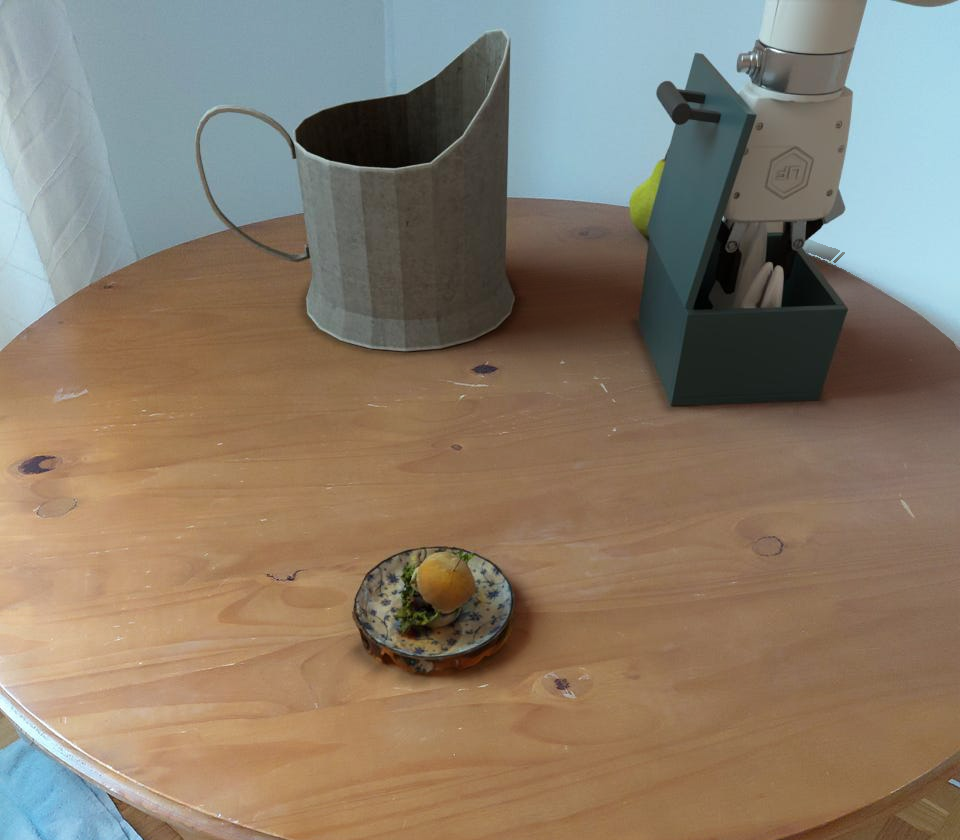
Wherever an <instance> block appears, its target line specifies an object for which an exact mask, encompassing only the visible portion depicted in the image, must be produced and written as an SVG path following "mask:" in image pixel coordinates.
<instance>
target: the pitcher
mask: <svg viewBox="0 0 960 840" xmlns="http://www.w3.org/2000/svg"><path fill="white" fill-rule="evenodd" d="M511 42H512V41H511V37H510V36H509V34H508V33H507V31H506V30H505V28H497V29H492V30H491V29H490V30H486V31H485V32H483V34H481V35H480V36H479V37H478V38H476V39H475V40H474V41H473V42H472V43H471V44H469V45H468V46H467V47H466V48H464V50H462V51H461V52H460V53H459V54H458V55H457V56H455V57H454V58H453V59H452V60H451V61H450V62H449V63H448V64H446V65H445V66H444V67H443V68H442V69H441V70H440V71H439V72H437V73H436V74H435V75H434V76H432V77H430V78H428V79H426V80H425V81H424V82H422V83H420V84H419V85H416V86H415V87H413V88H412V89H410V90H408V91H407V92H402V93H396V94H390V95H383V96H377V97H370V98H365V99H357V100H351V101H346V102H342V103H339V104H335V105H332V106H328V107H325V108H321V109H319V110H318V111H316V112H314V113H312V114H310V115H308V116H305V117H304V118H302V119H301V121H300V122H299V123H298V124H297V125H296V127H295V128H293V130H292V134H293V140H292V137H291V136H290V133H289V132H288V131H287V130H286V129H285V128H284V127H283V126H282V125H281V124H280V123H279V122H278V121H276V120H275V119H274V118H272V117H271V116H270V115H268V114H266V113H264V112H262V111H260V110H257V109H255V108H252V107H248V106H245V105H244V106H243V105H240V104H221V105H216V106H214V107H212V108H210V109H208V110H207V111H206V112H205V113H204V114H203V116H202V117H201V118H200V119H199V123H198V125H197V128H196V132H195V139H194V151H195V152H194V154H195V161H196V166H197V171H198V174H199V178H200V182H201V185H202V189H203V191H204V195H205V197H206V199H207V202H208V204H209V206H210V208H211V209H212V211H213V213H215V215H216V217H217V218H218V219H219V220H220V222H221V223H222V224H224V225H225V226H226V227H227V229H229V230H230V231H231V232H232V233H234V234H235V235H236V236H237V237H238V238H239V239H241V240H242V241H244V242H245V243H246V244H248V245H250V246H251V247H254V248H255V249H257V250H258V251H261V252H263V253H265V254H267V255H270V256H272V257H276V258H278V259H281V260H284V261H288V262H293V263H300V262H303V261H306V260H309V261H310V267H311V275H312V277H311V280H310V284H309V287H308V291H307V295H306V311H307V315H308V316H309V318H310V319H311V320H312V321H313V323H314V324H315V325H316V327H317V328H318V329H319V330H321V331H323V332H325V333H326V334H328V335H330V336H331V337H333V338H335V339H337V340H339V341H341V342H343V343H348V344H350V345H355V346H359V347H362V348H367V349H370V350H381V351H395V352H415V351H416V352H417V351H428V350H440V349H444V348H449V347H453V346H456V345H459V344H464V343H468V342H471V341H474V340H476V339H478V338H480V337H482V336H483V335H485V334H488V333H490V332H491V331H494V330H495V329H497V328H498V327H499V326H500V325H501V324H502V323H503V322H504V321H505V320H506V319H507V318H508V317H509V316H511V314H512V310H513V306H514V303H515V298H516V297H515V294H514V291H513V289H512V287H511V284H510V281H509V279H508V277H507V274H506V264H507V263H506V261H507V222H508V221H507V215H508V175H509V174H508V172H509V132H510V131H509V129H510V128H509V125H510V124H509V123H510V79H511ZM223 113H235V114H242V115H247V116H251V117H253V118H256V119H259V120H261V121H262V122H264V123H266V124H268V125H269V126H271V127H272V128H274V129H275V130H276V131H277V132H279V134H280V135H281V136H282V137H283V138H284V140H285V141H286V143H287V145H288V147H289V148H290V156H291V159H292V160H295V161H296V167H297V174H298V182H299V187H300V188H299V189H300V195H301V196H300V197H301V203H302V209H303V217H304V224H305V230H306V238H307V243H305V244H304V250H305V252H303V253H301V254H294V253H287V252H285V251H281V250H278V249H275V248H272V247H270V246H268V245H266V244H263V243H261V242H259V240H257V239H254V238H253V237H251V236H250V235H248V234H246V233H245V232H244V231H243V230H241V228H240V227H238V226H236V224H235V223H233V222H232V221H231V220H230V219H229V218H228V217H227V216H226V215H225V214H224V213H223V212H222V209H220V207H219V206H218V204H217V203H216V202H215V199H214V197H213V195H212V193H211V189H210V187H209V184H208V181H207V177H206V173H205V169H204V164H203V161H202V153H201V134H202V133H203V130H204V127H205V125H206V124H207V122H208V121H209V120H210V119H211V118H212V117H214V116H216V115H218V114H223Z"/></svg>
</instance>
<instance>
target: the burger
mask: <svg viewBox="0 0 960 840" xmlns="http://www.w3.org/2000/svg"><path fill="white" fill-rule="evenodd" d="M501 569H502V568H500V567H499V566H498V565H497V564H495V563H494V562H493V561H491V560H490V559H488V558H486V557H484V556H482V555H479V554H478V553H476V552H475V551H471V550H467V549H464V548H460V547H456V546H452V547H451V546H450V547H449V546H447V545H444V546H441V545H435V546H422V547H415V548H410V549H406V550H403V551H401V552H398V553H394V554H393V555H391V556H389V557H387V558H386V559H385V558H384V559H383V560H381V561H380V562H379V563H377V564H376V565H375V566H373V567H372V568H371V569H370V570H369V571H368V572H367V573H366V574H365V575H364V578H363V579H362V581H361V584H360V586H359V588H358V590H357V592H356V594H355V596H354V598H353V600H354V601H353V608H352V610H351V614H352V619H353V622H354V623H355V625H356V627H357V629H358V631H359V635H360V639H361V642H362V646H363V649H364V650H365V652H366V653H368V654H370V656H371V657H374V659H375V660H376V661H378V662H380V663H383V661H384V658H385V654H386V655H388V656H390V658H391V660H392V661H393V662H394V663H395V664H396V665H397V666H398V667H400V668H401V669H403V670H405V671H407V672H409V673H413V674H414V673H416V671H418V672H420V673H422V674H427V673H429V672H430V671H435V670H437V671H440V672H442V671H443V670H444V669H446V668H454V667H455V668H456V669H458V670H461V671H463V670H464V669H466V668H469V667H473V666H475V665H477V664H478V663H479V662H480V661H482V659H483V658H484V657H485V656H486V657H487V656H488V658H490V657H491V656H492V655H494V654H496V652H498V651H499V650H500V649H501V648H502V646H504V644H505V643H506V642H507V640H508V639H509V637H510V635H511V633H512V631H513V629H514V624H515V621H516V608H515V594H514V593H515V592H514V588H513V586H512V583H511V581H510V579H509V578H508V576H507V575H506V574H505V573H504V572H503V570H501Z"/></svg>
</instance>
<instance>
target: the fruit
mask: <svg viewBox="0 0 960 840" xmlns="http://www.w3.org/2000/svg"><path fill="white" fill-rule="evenodd" d="M666 150H667V151H666V153H665V156H664V158H662V159H660V160H659V161H658V162H657V163H656V164H655V166H654V168H653V171H652V173H651V175H650V176H649V177H648V178H647V179H646V180H645V181H644V182H642V183H641V184H640V185H638V186H637V187H636V188H635V189H634V190H633V192H632V193H631V196H630V197H629V203H628V205H629V208H628V209H629V215H630V218H631V221H632V224H633V226H634V228H635V229H636V230H637V232H638V233H639V234H641V235H642V236H643V237H645V238H646V239H649V235H648V232H647V227H648V223H649V220H650V216H651V212H652V209H653V205H654V201H655V198H656V194H657V190H658V187H659V183H660V179H661V176H662V172H663V168H664V165H665V161H666V157H667V154H668V150H669V147H668V148H667V149H666Z"/></svg>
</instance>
